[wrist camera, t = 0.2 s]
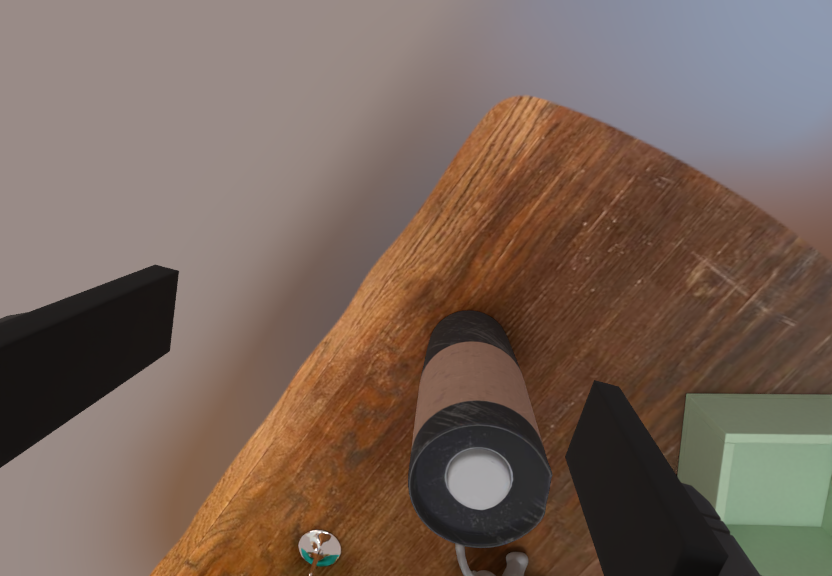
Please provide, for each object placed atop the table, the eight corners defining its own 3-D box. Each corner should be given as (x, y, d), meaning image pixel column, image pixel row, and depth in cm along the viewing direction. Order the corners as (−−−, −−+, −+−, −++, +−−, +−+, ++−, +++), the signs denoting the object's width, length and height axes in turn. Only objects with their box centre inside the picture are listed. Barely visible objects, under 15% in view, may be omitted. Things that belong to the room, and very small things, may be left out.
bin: (686, 393, 45) (726, 433, 38) (849, 394, 44) (918, 436, 37) (671, 524, 48) (705, 582, 42) (822, 528, 47) (881, 587, 41)
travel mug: (408, 340, 46) (375, 474, 26) (476, 289, 44) (494, 392, 25) (460, 402, 47) (465, 574, 27) (528, 355, 45) (585, 502, 26)
